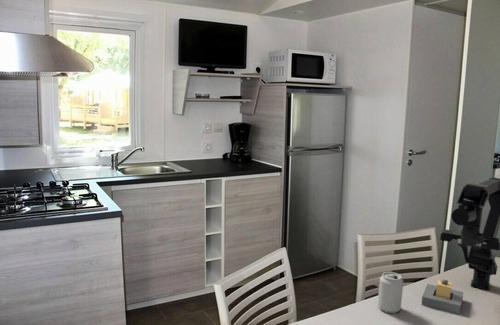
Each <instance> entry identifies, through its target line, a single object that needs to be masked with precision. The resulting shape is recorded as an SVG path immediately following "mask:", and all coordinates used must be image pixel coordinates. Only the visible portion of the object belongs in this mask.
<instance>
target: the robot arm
mask: <svg viewBox="0 0 500 325" xmlns="http://www.w3.org/2000/svg"><path fill="white" fill-rule="evenodd" d="M487 201H488V202H487ZM456 203H457V204H458V208H456V209H454V210H453V211H452V213H451V219H452V221H453V222H454V223H455V224H456V225H457V226H462V227H461V231H460V234H457V233H455V231H454V230H450V229H445V228H443V230H442V231H441V233H440V237H439V240H440V241H444V242H452V241H453V240H457V244H456V245H457V246H460V248H461V250H462V253H463V257H464V261H465V263H466V264H468V269H471V270H473V274H472V275H473V276H472V279H471V282H470V287H473V288H477V289H481V290H485V291H491V282H490V281H491V276H493V275H494V276H496V275H497V272H498V265H497V262H496V254H495V252H494V251H500V238H499V237H497V235H498V233H499V229H500V178H499V177H493V176H492V177H490V178H489V179H487V180H484V181H482V182H480V183H467V184H465V186H463V188H462V190H461V192H460V195H459V198H458V199H457V202H456ZM486 203H488V204H489V207H490V209H489V212H488V215H487V218H486V221H485V225H484V228H483V229H482V230H483V231H482V233H481V228H482V217H483V212H484V211H483V210H484V209H483V208H484V207H485V205H486ZM468 247H470V248H468ZM468 249H469V250H468ZM468 251H469V252H468Z"/></svg>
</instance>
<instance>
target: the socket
mask: <svg viewBox="0 0 500 325" xmlns="http://www.w3.org/2000/svg"><path fill="white" fill-rule="evenodd" d="M436 288H437V285H434V284H429V283H427V284H426V286H425V289H424V292H423V294H422V296H421V305H422V306H424V307H428V308H429V307H430V308H432V309H437V310H440V311H441V310H442V311H445V312H449V313H453V314H458V315H460V314H461V309H462V305H463V300H464V299H463V298H464V291H462V290H461V291H460V290H456V289H452V288H451V296H450V299H446V298H442V297H437V296H436Z"/></svg>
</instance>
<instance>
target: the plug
mask: <svg viewBox="0 0 500 325" xmlns="http://www.w3.org/2000/svg"><path fill="white" fill-rule="evenodd" d="M436 286H437V288H436V296H437V297H442V298H446V299H450V296H451V289H452V288H453V287H452V286H453V282H449V280H448V279H441V280H440V279H438V280H437V282H436Z"/></svg>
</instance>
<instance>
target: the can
mask: <svg viewBox="0 0 500 325" xmlns="http://www.w3.org/2000/svg"><path fill="white" fill-rule="evenodd" d="M381 274H382V275H381V276H380V277H379V286H378V287H379V288H378V297H377V306H378V307H379V308H380V310H382V311H383V312H385V313H387V314H388V313H389V314H395V313H398V312H399V311H400V310H402V299H403V289H404V288H403V287H404V280H403V279H402V278H403V277H402V275H401V274H399V273H397V272H394V271H385V272H383V273H381Z"/></svg>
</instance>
